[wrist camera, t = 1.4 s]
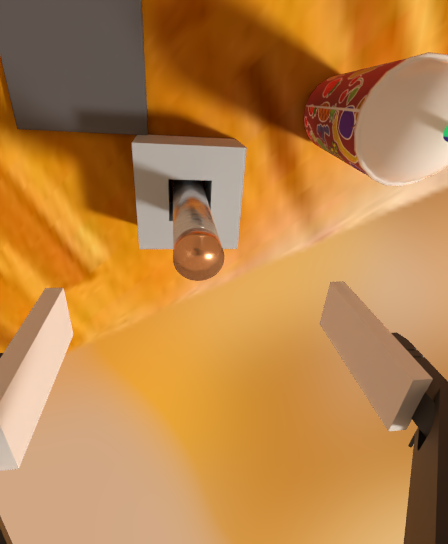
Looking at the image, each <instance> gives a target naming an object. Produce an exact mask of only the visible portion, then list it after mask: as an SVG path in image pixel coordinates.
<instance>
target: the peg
mask: <svg viewBox="0 0 448 544" xmlns="http://www.w3.org/2000/svg"><path fill="white" fill-rule="evenodd" d="M173 262H174V266H175V268H176V270H177V271H178V272H179V273H180V274H181V275H182V276H183V277H185V278H187V279H190V280H195V281H201V280H206V279H209V278H211V277H213V276H214V275H216V274H217V273H218V272H219V271H220V269H221V268H222V265H223V263H224V252H223V249H222V245H221V242H220V239H219V236H218V233H217V229H216V226H215V223H214V220H213V217H212V214H211V210H210V207H209V204H208V201H207V198H206V194H205V191H204V188H203V185H202V182H201V180H173Z"/></svg>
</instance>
